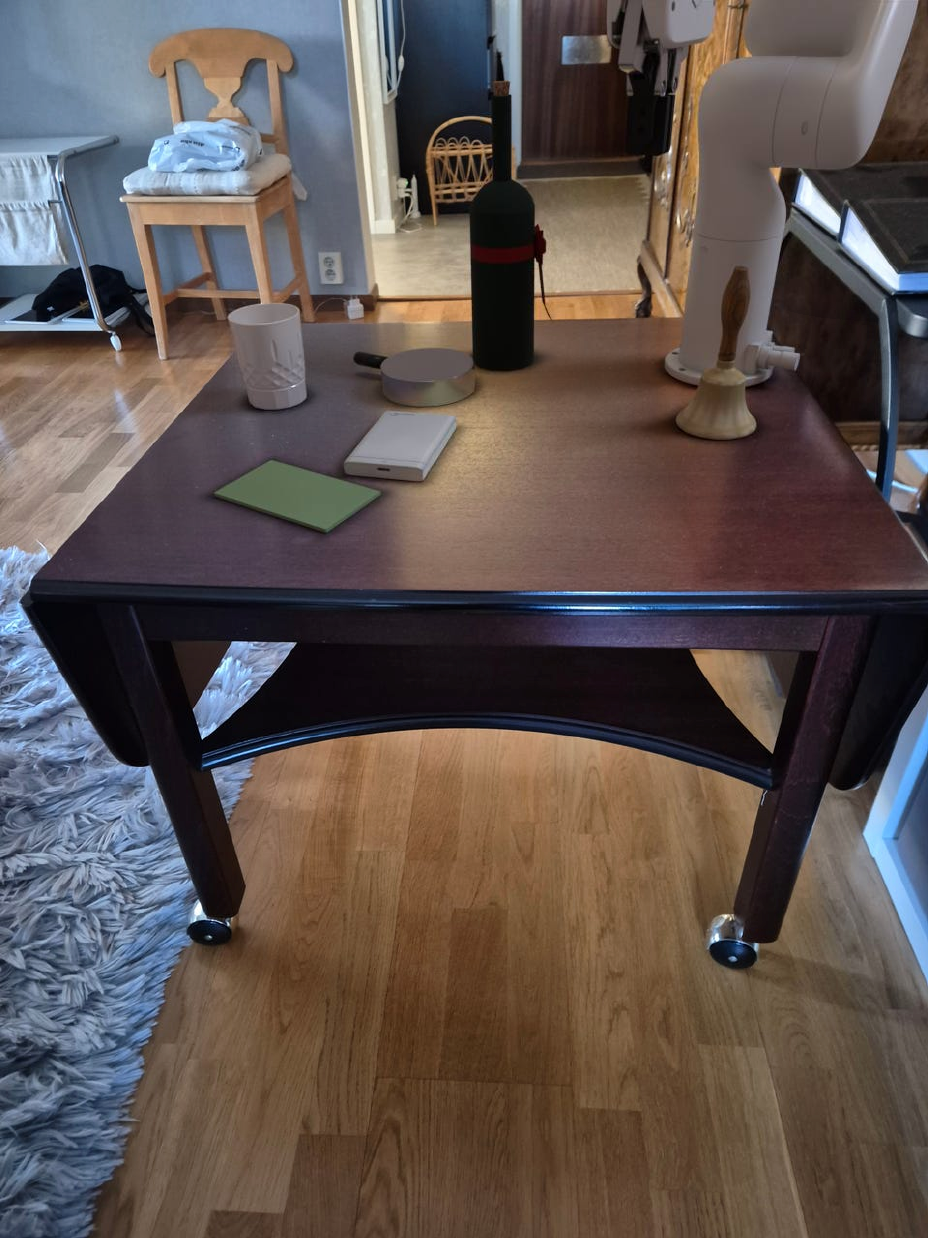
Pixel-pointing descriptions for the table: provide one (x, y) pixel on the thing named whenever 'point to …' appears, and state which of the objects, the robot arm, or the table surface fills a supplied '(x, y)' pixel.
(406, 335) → the table surface
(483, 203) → the wine bottle
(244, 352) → the white cup
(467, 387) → the pan
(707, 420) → the hand bell
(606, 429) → the table surface
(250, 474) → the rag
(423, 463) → the hard drive
